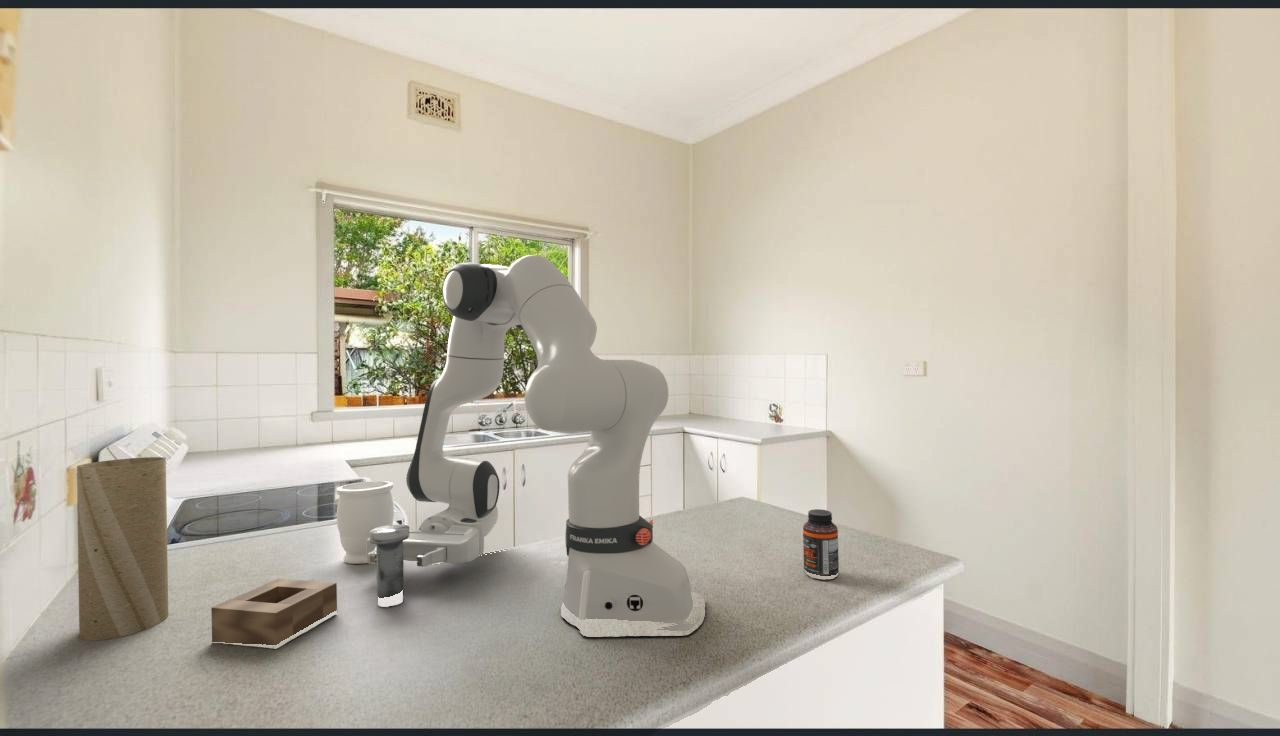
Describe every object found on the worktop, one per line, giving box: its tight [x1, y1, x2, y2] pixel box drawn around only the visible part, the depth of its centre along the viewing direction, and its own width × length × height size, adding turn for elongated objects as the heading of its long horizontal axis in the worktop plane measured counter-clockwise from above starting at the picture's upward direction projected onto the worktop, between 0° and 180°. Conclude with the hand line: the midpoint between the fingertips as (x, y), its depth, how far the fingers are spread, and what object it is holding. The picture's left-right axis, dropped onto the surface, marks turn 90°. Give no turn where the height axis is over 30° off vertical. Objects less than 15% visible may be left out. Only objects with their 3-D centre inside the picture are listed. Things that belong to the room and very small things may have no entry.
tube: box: [76, 456, 169, 641], centre depth 84 cm, size 10×10×25 cm
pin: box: [369, 524, 410, 598], centre depth 90 cm, size 6×6×12 cm
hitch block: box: [210, 578, 338, 645], centre depth 82 cm, size 11×11×5 cm
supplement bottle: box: [802, 508, 840, 576], centre depth 98 cm, size 6×6×11 cm
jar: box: [336, 480, 395, 565], centre depth 113 cm, size 11×10×15 cm
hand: (395, 560), depth 91 cm, fingers open, 8 cm apart
